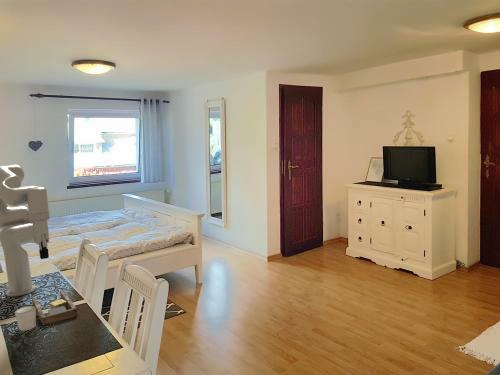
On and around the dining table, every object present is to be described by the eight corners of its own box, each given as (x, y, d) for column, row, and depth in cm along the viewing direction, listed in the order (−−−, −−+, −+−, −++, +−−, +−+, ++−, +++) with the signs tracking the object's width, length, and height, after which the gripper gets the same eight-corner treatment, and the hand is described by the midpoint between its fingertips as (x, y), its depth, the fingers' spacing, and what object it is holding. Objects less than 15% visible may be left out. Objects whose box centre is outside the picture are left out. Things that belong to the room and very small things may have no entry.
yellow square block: (50, 309, 169) (49, 303, 168) (62, 305, 172) (61, 298, 172) (55, 312, 165) (54, 305, 165) (67, 308, 169) (66, 301, 169)
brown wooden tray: (32, 304, 175) (31, 297, 174) (63, 296, 182) (62, 289, 181) (42, 325, 154) (41, 317, 153) (77, 315, 161) (76, 308, 160)
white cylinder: (28, 331, 149) (26, 313, 148) (12, 331, 151) (10, 313, 150) (41, 323, 156) (39, 306, 155) (26, 322, 157) (24, 305, 156)
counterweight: (48, 317, 162) (47, 310, 161) (64, 312, 165) (64, 305, 165) (51, 322, 157) (50, 315, 156) (67, 317, 160) (67, 310, 160)
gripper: (27, 215, 176) (32, 256, 178) (32, 220, 163) (37, 264, 166) (46, 212, 180) (51, 252, 182) (52, 217, 168) (57, 260, 170)
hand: (44, 258), depth 174 cm, fingers closed
